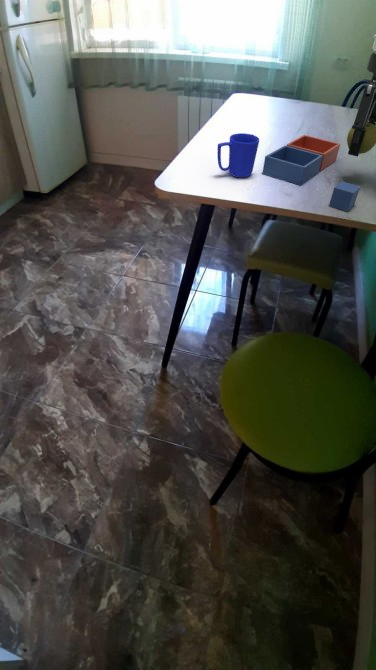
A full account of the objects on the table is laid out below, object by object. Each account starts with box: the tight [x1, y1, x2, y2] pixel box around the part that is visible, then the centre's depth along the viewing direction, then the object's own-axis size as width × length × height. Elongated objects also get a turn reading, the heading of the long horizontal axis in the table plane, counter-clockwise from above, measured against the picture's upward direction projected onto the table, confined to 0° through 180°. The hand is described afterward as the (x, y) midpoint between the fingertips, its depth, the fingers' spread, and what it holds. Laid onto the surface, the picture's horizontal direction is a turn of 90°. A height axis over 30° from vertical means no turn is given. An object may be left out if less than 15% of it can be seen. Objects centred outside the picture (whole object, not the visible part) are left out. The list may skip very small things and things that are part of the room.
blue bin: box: [261, 144, 323, 186], centre depth 120 cm, size 12×12×5 cm
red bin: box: [286, 134, 341, 173], centre depth 128 cm, size 12×12×5 cm
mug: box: [217, 132, 260, 178], centre depth 116 cm, size 8×12×10 cm
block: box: [328, 181, 361, 213], centre depth 106 cm, size 5×5×5 cm
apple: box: [346, 123, 376, 155], centre depth 112 cm, size 8×8×7 cm
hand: (358, 150), depth 114 cm, fingers closed on apple, 8 cm apart
